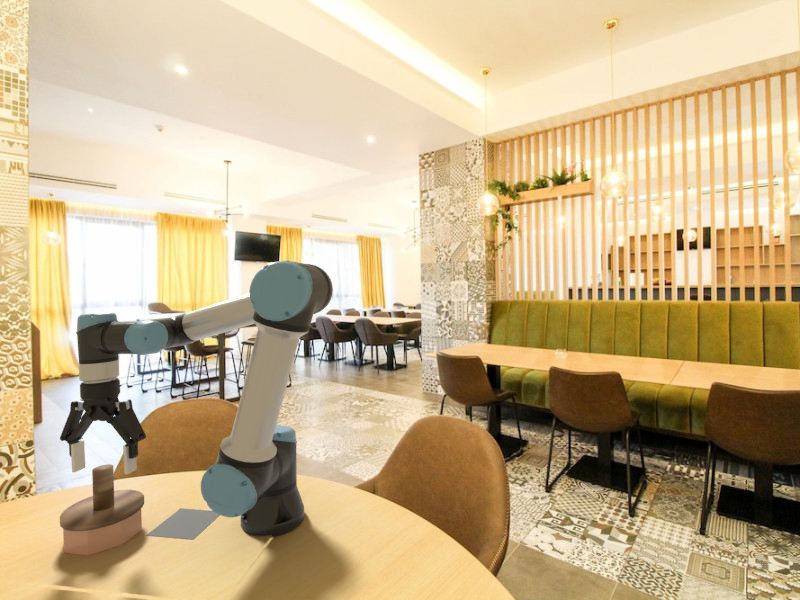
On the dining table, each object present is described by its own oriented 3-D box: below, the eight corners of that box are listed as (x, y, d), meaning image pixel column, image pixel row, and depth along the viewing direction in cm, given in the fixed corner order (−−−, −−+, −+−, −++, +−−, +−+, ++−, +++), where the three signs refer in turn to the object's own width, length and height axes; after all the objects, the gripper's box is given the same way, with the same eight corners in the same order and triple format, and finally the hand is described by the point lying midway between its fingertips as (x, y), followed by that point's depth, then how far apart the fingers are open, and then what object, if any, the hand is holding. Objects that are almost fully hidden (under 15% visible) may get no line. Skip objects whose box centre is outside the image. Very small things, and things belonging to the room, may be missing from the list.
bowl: (154, 522, 103) (154, 498, 103) (105, 559, 89) (104, 531, 89) (103, 517, 106) (102, 494, 105) (47, 553, 91) (46, 526, 91)
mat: (223, 513, 107) (223, 511, 107) (193, 542, 95) (193, 539, 95) (180, 510, 109) (180, 508, 109) (146, 537, 97) (146, 535, 97)
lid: (159, 496, 104) (158, 456, 104) (105, 533, 88) (104, 486, 88) (103, 492, 106) (101, 452, 106) (40, 528, 91) (38, 481, 90)
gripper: (160, 376, 98) (164, 465, 99) (68, 376, 102) (72, 462, 102) (135, 383, 91) (140, 480, 91) (37, 383, 95) (42, 476, 95)
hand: (104, 471), depth 97 cm, fingers open, 13 cm apart
